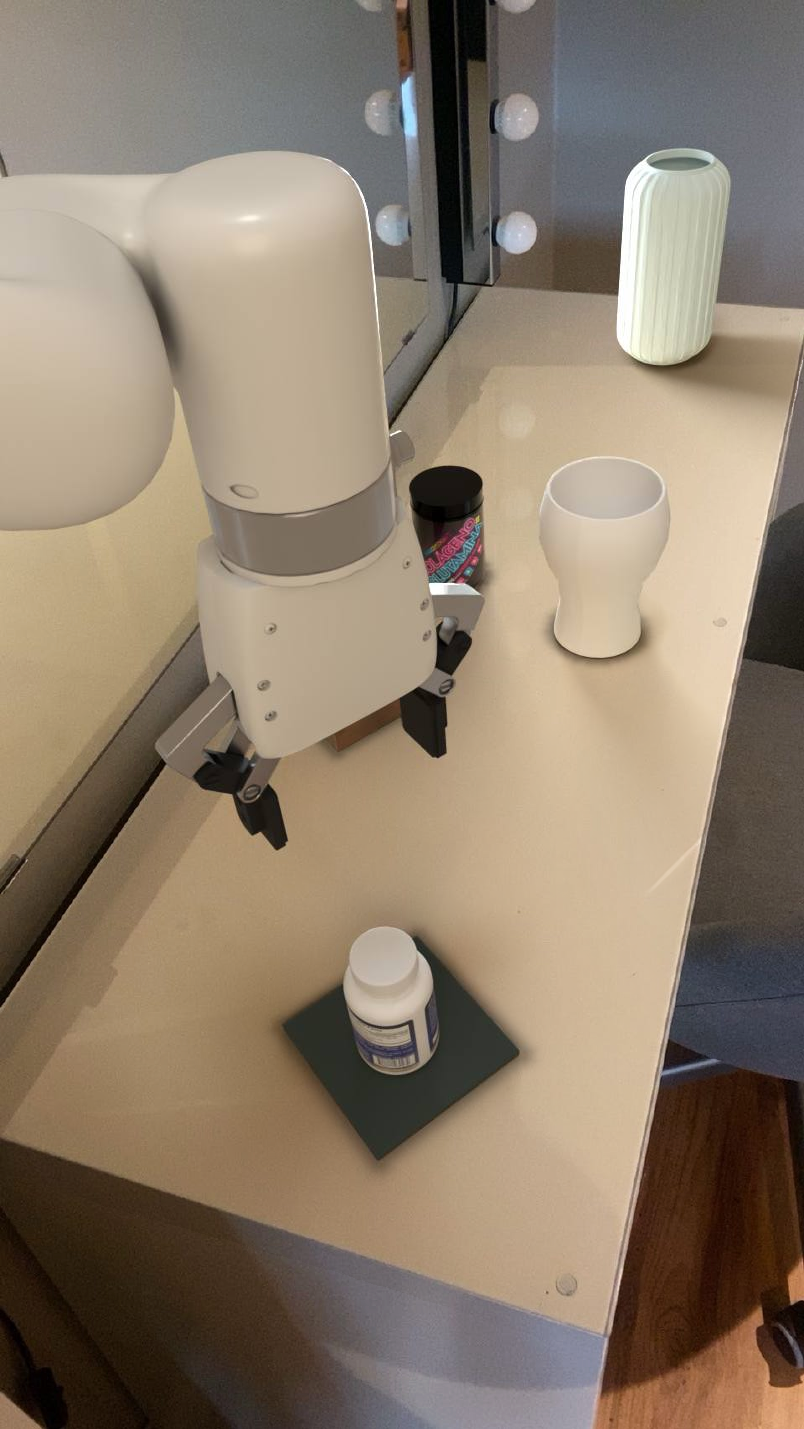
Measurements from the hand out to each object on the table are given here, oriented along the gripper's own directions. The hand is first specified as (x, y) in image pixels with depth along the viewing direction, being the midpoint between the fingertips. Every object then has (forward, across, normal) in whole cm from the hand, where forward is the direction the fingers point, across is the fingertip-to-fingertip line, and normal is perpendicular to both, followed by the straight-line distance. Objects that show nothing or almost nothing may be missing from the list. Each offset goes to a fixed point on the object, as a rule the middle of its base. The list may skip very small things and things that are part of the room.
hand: (348, 784), depth 54 cm
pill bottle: (+22, +1, +3) cm, 22 cm away
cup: (+22, -36, -19) cm, 47 cm away
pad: (+22, +1, +3) cm, 22 cm away
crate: (+22, -15, -27) cm, 38 cm away
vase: (+22, -79, -54) cm, 98 cm away
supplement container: (+22, -31, -34) cm, 51 cm away
